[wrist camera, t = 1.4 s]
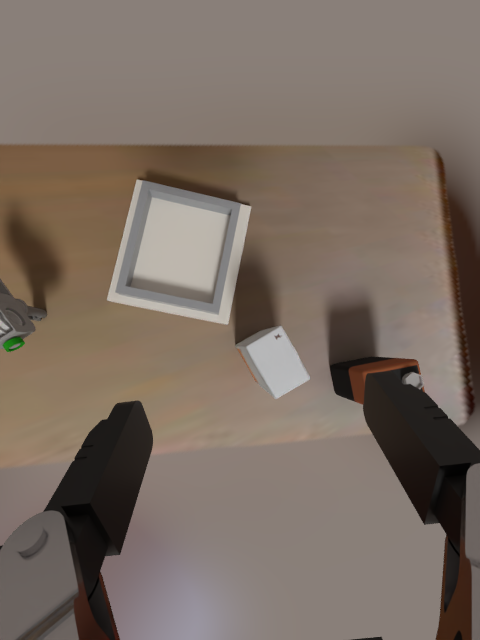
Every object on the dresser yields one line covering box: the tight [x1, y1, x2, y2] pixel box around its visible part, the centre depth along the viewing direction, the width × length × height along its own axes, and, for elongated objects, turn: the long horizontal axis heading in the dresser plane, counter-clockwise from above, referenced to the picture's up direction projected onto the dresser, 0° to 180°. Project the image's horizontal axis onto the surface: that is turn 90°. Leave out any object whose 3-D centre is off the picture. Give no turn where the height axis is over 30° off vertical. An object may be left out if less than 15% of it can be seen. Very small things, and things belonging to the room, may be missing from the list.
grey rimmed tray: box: [107, 180, 251, 325], centre depth 37 cm, size 16×17×3 cm
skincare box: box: [236, 325, 310, 399], centre depth 33 cm, size 6×4×12 cm
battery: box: [330, 357, 425, 404], centre depth 35 cm, size 4×7×10 cm, turn 100°
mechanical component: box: [0, 279, 47, 352], centre depth 31 cm, size 3×10×10 cm, turn 37°
